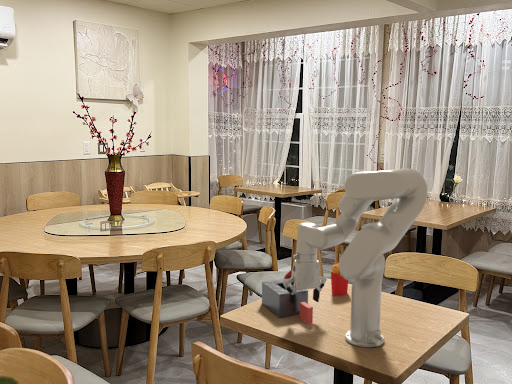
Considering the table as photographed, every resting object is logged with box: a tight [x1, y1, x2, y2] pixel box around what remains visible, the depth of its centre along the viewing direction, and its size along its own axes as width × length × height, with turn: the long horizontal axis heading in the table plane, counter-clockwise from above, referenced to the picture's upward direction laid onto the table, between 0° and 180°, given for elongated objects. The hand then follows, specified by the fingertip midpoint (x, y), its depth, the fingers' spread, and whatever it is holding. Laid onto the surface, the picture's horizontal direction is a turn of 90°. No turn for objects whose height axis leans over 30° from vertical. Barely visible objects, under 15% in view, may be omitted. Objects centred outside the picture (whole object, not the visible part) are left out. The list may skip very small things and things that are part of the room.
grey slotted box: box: [261, 278, 309, 319], centre depth 192 cm, size 16×12×9 cm
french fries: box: [330, 262, 349, 297], centre depth 210 cm, size 9×4×13 cm, turn 122°
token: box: [299, 302, 314, 325], centre depth 180 cm, size 6×2×6 cm, turn 23°
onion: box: [283, 269, 292, 279], centre depth 218 cm, size 6×6×8 cm
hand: (304, 302), depth 180 cm, fingers open, 9 cm apart
